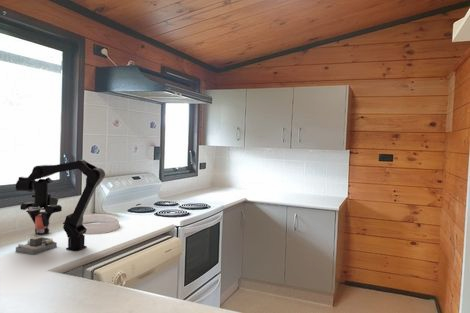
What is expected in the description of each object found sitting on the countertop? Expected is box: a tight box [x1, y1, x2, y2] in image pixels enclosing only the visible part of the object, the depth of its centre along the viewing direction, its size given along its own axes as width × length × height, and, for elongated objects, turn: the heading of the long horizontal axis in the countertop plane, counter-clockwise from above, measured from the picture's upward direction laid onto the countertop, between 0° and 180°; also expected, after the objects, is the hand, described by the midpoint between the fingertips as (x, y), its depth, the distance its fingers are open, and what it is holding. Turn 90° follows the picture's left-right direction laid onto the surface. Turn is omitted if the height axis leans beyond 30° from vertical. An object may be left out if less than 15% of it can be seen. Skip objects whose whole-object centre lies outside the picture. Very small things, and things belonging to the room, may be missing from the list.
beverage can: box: [34, 209, 50, 235], centre depth 190 cm, size 7×7×12 cm
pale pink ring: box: [82, 213, 120, 235], centre depth 206 cm, size 27×27×6 cm
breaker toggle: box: [29, 235, 42, 247], centre depth 160 cm, size 3×4×4 cm
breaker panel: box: [15, 236, 58, 256], centre depth 164 cm, size 10×13×4 cm
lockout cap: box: [34, 214, 46, 230], centre depth 167 cm, size 5×5×6 cm
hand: (40, 225), depth 167 cm, fingers closed on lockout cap, 5 cm apart
